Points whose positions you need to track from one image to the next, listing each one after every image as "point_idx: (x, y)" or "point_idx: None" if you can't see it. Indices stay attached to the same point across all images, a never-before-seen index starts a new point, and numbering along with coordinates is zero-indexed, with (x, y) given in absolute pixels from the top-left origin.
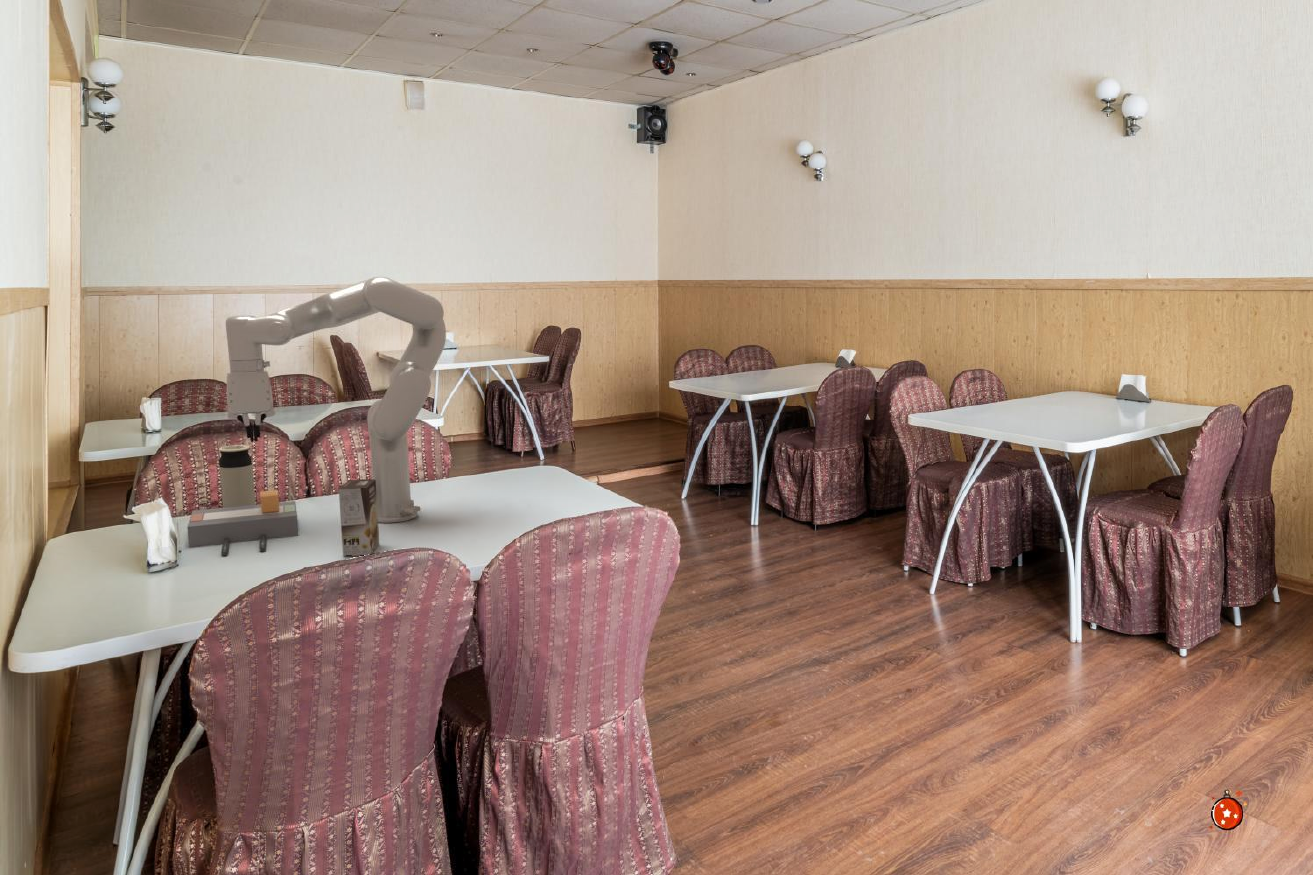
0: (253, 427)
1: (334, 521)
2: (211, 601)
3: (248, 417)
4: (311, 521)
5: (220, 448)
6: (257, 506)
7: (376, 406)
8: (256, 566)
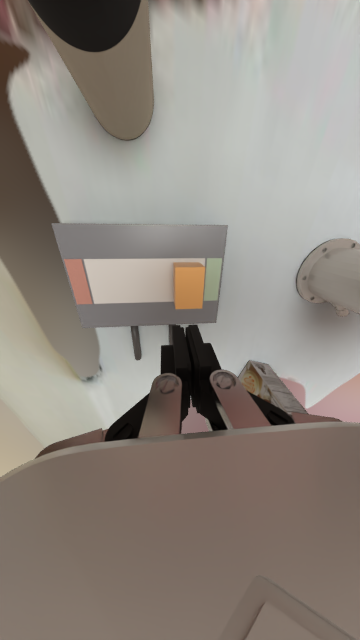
0: (193, 405)
1: (259, 263)
2: None
3: (179, 418)
4: (234, 249)
5: None
6: (165, 241)
7: None
8: None
